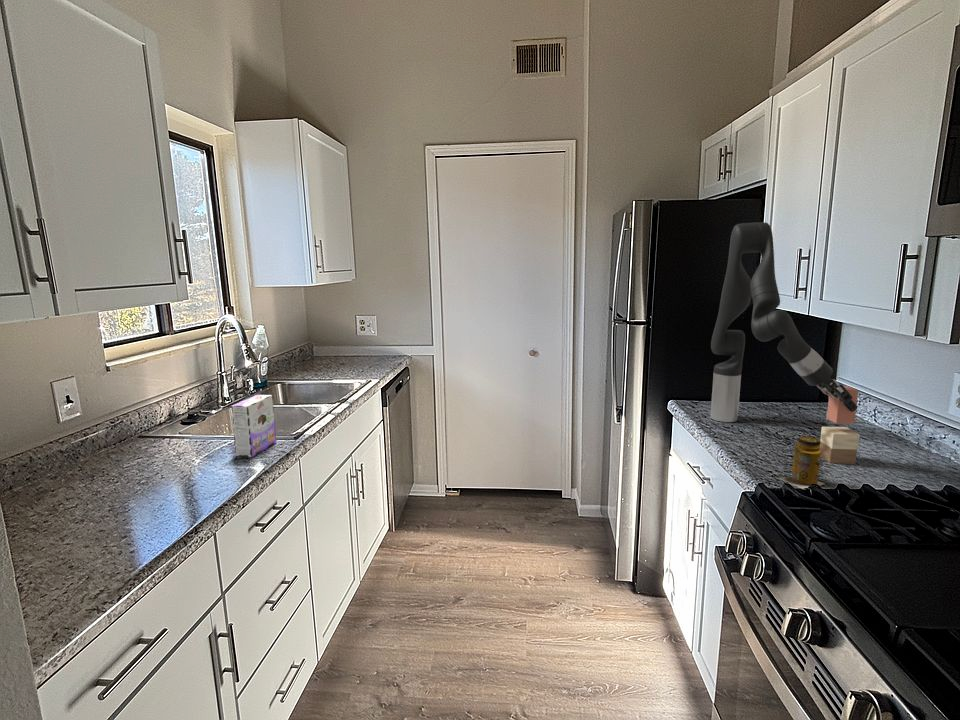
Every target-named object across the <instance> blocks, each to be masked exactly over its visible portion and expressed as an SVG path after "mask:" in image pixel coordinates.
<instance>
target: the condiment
mask: <svg viewBox="0 0 960 720" xmlns="http://www.w3.org/2000/svg"><path fill="white" fill-rule="evenodd" d="M821 458H822V457H821V451H820V439H819V438H816V437H813V436H805V435H804V436H803V435H802V436H798V437H797V441H796V446H795V447H794V451H793V461H792V471H791V475H789V476H785V477H780V478H778V480H780V481H781V482H785V483H787V482H788V483H787V484H790V485H791V486H794V487H797V488H799V489H802V490H805V489H804V488H808V486H809V485H810V484H818V485H819V486H822V485H825V484H826V483H825V482H823V481H822V482H821V481H819V480H818V479H819V472H820V463H821ZM808 489H809V488H808Z"/></svg>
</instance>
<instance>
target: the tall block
mask: <svg viewBox="0 0 960 720" xmlns="http://www.w3.org/2000/svg"><path fill="white" fill-rule="evenodd" d="M843 386H844V387H845V389H846V390H847V391H848V392H849V393H850V395H851V396H852V397H853V398H852V399H851V400H852V401H853V402H854V403H855V404H856V405H857V406H858V398H859V389H857V388H854V387H853V386H852V387H851V386H850V385H843ZM835 394H836V393H834V395H835ZM856 413H857V409H856V410H855V411H853V412H851V411H850V410H849V409H848V408H847V407H846V406H845V405H844V404H843V403H841V401H839V400H838V399H837V398H833V397H832V396H831V395H830V396H829V397H828V405H827V415H826V419H827V420H829V421H831V422H832V423H834V424H837V425H838V424H840V425H841V424H843V425H850V424H851V425H855V423H856V416H857V415H856Z"/></svg>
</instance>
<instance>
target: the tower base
mask: <svg viewBox="0 0 960 720" xmlns="http://www.w3.org/2000/svg"><path fill="white" fill-rule="evenodd" d="M820 451H821V457H820V458H822V459H823V460H825V461H826V462H827V461H828V462H827V463H829V464H843V465H844V464H847V465H848V464H849V465H856V462H857V461H856V460H857V453H858V450H853V449H831V448H830V447H829V446H827V445H826V444H824V443H823V442H821V441H820Z"/></svg>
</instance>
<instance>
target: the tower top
mask: <svg viewBox="0 0 960 720" xmlns="http://www.w3.org/2000/svg"><path fill="white" fill-rule="evenodd" d="M860 436H861V434H860V433H858V432H856V431H854V430H852V429H850V428H849V427H847V426H821V431H820V439H819V440H820V441H821V442H823V443H824V444H826V445H827V446H829V447H830V448H831V449H853V450H857V451H858V450H859V443H860Z"/></svg>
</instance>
